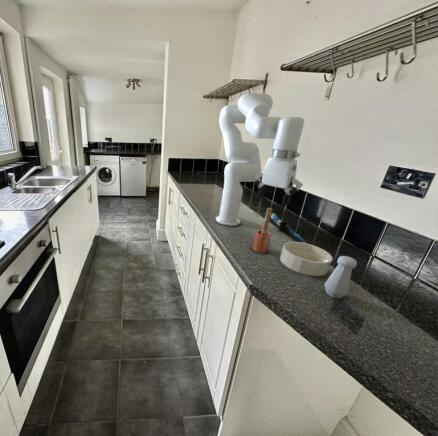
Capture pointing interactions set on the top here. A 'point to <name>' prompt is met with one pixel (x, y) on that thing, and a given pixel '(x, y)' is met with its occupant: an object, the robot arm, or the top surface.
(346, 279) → the salt shaker
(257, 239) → the pot
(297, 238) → the knife
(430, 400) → the top surface
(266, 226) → the wooden spoon
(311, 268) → the bowl
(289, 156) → the robot arm
